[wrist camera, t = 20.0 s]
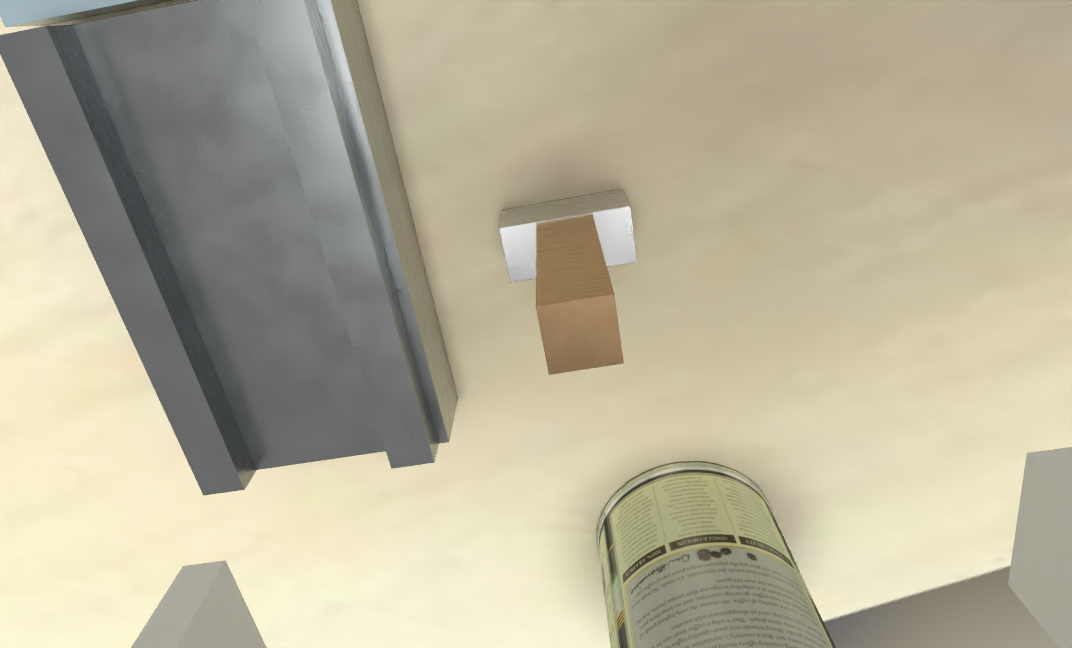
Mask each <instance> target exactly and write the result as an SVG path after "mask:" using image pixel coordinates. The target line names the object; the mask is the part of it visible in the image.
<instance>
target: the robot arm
mask: <svg viewBox="0 0 1072 648" xmlns="http://www.w3.org/2000/svg"><path fill="white" fill-rule="evenodd" d="M1008 585H1009V586H1010V588H1011V589H1012V590H1013V591H1014V593H1015V594H1016V595H1017V596H1018V598H1019V599H1020V600H1021V601H1022V603H1023V604H1024V605H1025V606H1026V607H1027V609H1028V610H1029V611H1030V612H1031V614H1032V615H1033V616H1034V617H1035V618H1036V620H1037V621H1038V622H1039V624H1040V625H1041V626H1042V627H1043V629H1044V630H1045V631H1046V632H1047V633H1048V635H1049V636H1050V637H1051V638H1052V639H1053V641H1054V642H1055V643H1056V645H1057V646H1058V647H1059V648H1072V447H1069V448H1062V449H1055V450H1047V451H1040V452H1032V453H1027V456H1026V463H1025V470H1024V477H1023V484H1022V491H1021V498H1020V505H1019V512H1018V519H1017V526H1016V533H1015V540H1014V547H1013V554H1012V561H1011V568H1010V575H1009V582H1008ZM131 648H266V646H265V644H264V642H263V639H262V637H261V635H260V633H259V631H258V629H257V627H256V624H255V622H254V620H253V618H252V616H251V614H250V612H249V610H248V607H247V605H246V603H245V601H244V599H243V597H242V595H241V592H240V590H239V588H238V586H237V584H236V582H235V580H234V577H233V575H232V573H231V571H230V569H229V567H228V565H227V562H226V561H219V562H211V563H204V564H197V565H189V566H183V567H182V569H181V570H180V572H179V573H178V575H177V577H176V578H175V580H174V581H173V583H172V584H171V586H170V588H169V589H168V591H167V592H166V594H165V595H164V597H163V599H162V600H161V602H160V603H159V605H158V606H157V608H156V610H155V611H154V613H153V614H152V616H151V617H150V619H149V621H148V622H147V624H146V625H145V627H144V628H143V630H142V632H141V633H140V635H139V636H138V638H137V639H136V641H135V643H134V644H133V646H132V647H131Z"/></svg>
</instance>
